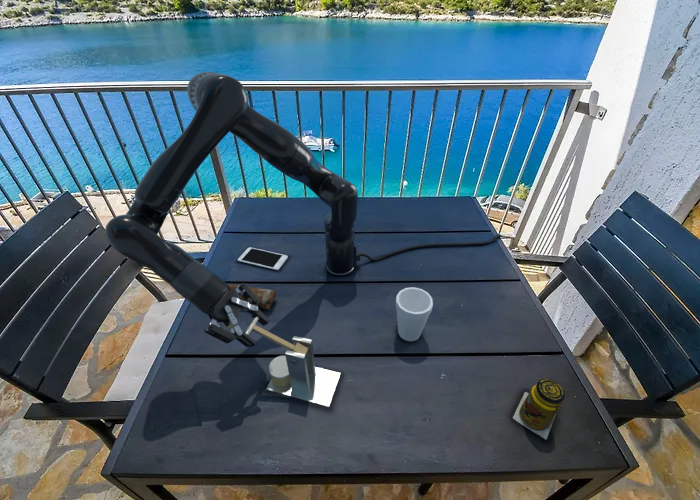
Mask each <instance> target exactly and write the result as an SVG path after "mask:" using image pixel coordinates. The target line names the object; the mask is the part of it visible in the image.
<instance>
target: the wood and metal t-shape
mask: <svg viewBox="0 0 700 500" xmlns="http://www.w3.org/2000/svg"><path fill="white" fill-rule="evenodd" d="M259 319H260V317H259V316H255V317H254V318H252V321H251V322H250V323H249V325H248V326H247V328H246V330H245V331H244V332H245V333H246V334H247V335H248V336H250V335H251V334H252V332H254V333H256V334H257V335H260V336H261V337H263V338H265V339H268V340H269V341H271V342H273V343H275V344H277V345H279V346H281V347H283V348H285V349H286V350H288V351H292V352H296V353H300V354H304V355H306V352H307V350H308V348H307V347H305V346H303V345H301V344H299V343H297V344H296V345H293V343H291V342H289V341H287V340H285V339H283V338H281V337H279V336H278V335H276V334H274V333H272V332H270V331H268V330H266V329H264V328H262V327H260V326H258V325H257V324H258V323H259V322H258V321H259Z"/></svg>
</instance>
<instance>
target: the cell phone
mask: <svg viewBox="0 0 700 500" xmlns="http://www.w3.org/2000/svg"><path fill="white" fill-rule="evenodd" d="M288 259H289V256H288V255H287V254H282V253H276V252H274V251H268V250H265V249H260V248H255V247H251V246H250V247H248V248H246V249H245V250H244V252H243V253H242V254H241V255H240V256H239V257H238V258H237V262H240V263H244V264H248V265H253V266H257V267H261V268H265V269H270V270H273V271H279V270H280V269H281V268H282V267H283V265H284V264H285V262H286V261H287V260H288Z"/></svg>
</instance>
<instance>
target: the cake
mask: <svg viewBox="0 0 700 500" xmlns="http://www.w3.org/2000/svg"><path fill="white" fill-rule="evenodd" d="M268 371H269V375H270V380H271V379H272V382H273V383H274V384H275V385H277V386H287V385H289V384H290V383H291V381H290V376H289V371H288V366H287V361H286V356H285V355H279V356H277V357H274V358H273V359H271V361H270V363H269V366H268Z"/></svg>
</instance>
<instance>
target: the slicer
mask: <svg viewBox="0 0 700 500" xmlns="http://www.w3.org/2000/svg"><path fill="white" fill-rule="evenodd" d="M291 341H292V344H293V345H296V344H297V343H299V344H301V345H303V346H305V347H307V348H308V350H307V352H306V355H304V354H300V353H296V352H292V351H290V350H288V349H286V351H285V353H284V356H286V361H287V366H288V371H289V376H290V381H291V383H290V384H289V385H287V386H277V385H275V384H274V383H273V382H272V379H271V378H270V381H269V382H268V384H267V387H266V390H268V391H271V392H274V393H278V394H282V395H285V396H289V397H292V398H296V399H300V400H303V401H305V402H309V403H314V404H317V405H321V406H324V407H328V408H329V407H330V405H331V403H332V400H333V397H334V394H335V391H336V388H337V385H338V382H339V379H340V377H341V372H338V371H334V370H329V369H325V368H323V367H318V366H316V362H315V354H314V345H313V340H312V339H310V338H306V337H301V336H297V335H293V337H292V340H291Z"/></svg>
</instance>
